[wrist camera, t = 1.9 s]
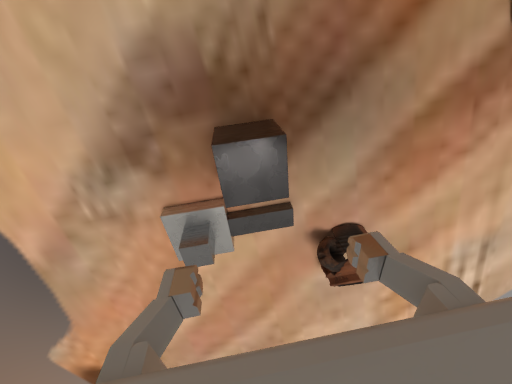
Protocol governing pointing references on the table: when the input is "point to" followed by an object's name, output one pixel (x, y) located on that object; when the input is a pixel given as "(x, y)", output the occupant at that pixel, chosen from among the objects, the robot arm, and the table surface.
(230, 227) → the gray angular block
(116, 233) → the table surface
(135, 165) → the table surface
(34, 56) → the table surface
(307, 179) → the table surface
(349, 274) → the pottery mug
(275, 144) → the dark brown cube
